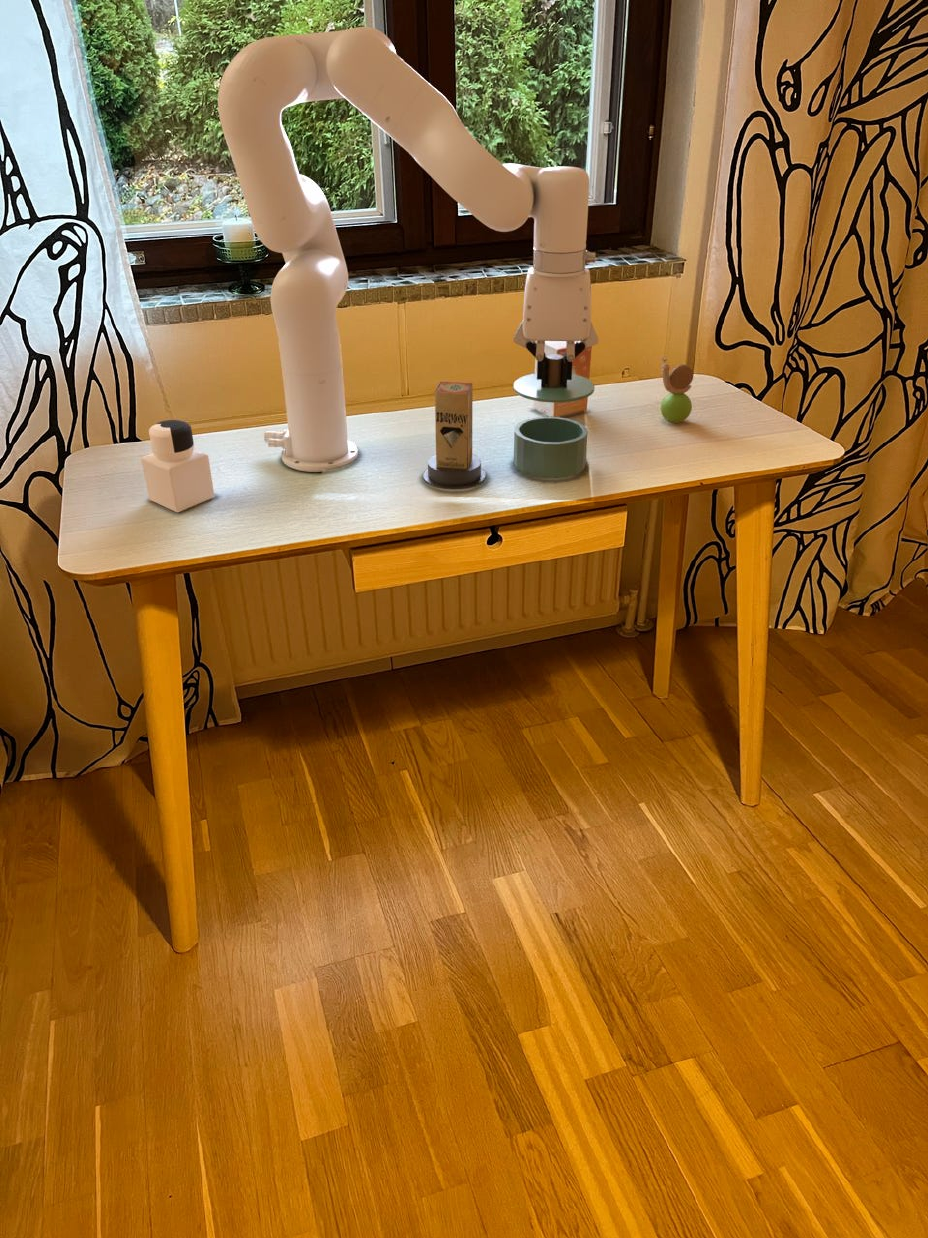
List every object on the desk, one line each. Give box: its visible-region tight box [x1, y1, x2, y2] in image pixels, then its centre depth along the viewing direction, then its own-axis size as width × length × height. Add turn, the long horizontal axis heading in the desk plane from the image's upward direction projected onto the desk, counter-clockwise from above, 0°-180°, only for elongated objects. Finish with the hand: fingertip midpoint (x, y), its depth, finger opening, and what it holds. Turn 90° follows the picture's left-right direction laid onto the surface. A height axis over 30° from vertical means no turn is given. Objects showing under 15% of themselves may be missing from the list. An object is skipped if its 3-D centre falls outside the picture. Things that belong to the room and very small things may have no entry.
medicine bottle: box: [141, 419, 215, 513], centre depth 145 cm, size 7×7×12 cm
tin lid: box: [512, 354, 596, 403], centre depth 150 cm, size 13×13×6 cm
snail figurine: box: [660, 356, 694, 424], centre depth 171 cm, size 5×6×12 cm
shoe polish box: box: [434, 381, 473, 469], centre depth 149 cm, size 5×5×12 cm
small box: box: [532, 341, 593, 417], centre depth 176 cm, size 8×6×13 cm
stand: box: [422, 453, 487, 491], centre depth 154 cm, size 10×10×3 cm
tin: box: [513, 416, 588, 479], centre depth 157 cm, size 12×12×6 cm
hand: (553, 382), depth 151 cm, fingers closed on tin lid, 2 cm apart
